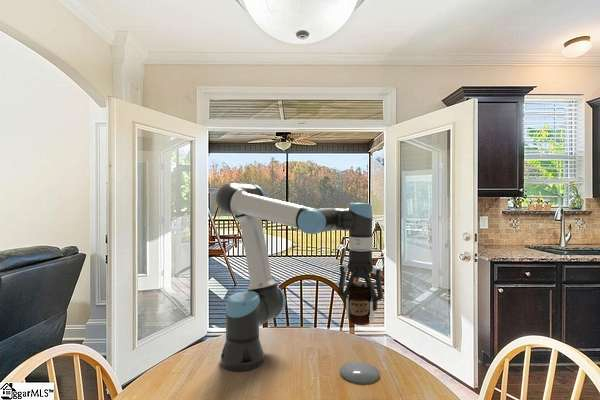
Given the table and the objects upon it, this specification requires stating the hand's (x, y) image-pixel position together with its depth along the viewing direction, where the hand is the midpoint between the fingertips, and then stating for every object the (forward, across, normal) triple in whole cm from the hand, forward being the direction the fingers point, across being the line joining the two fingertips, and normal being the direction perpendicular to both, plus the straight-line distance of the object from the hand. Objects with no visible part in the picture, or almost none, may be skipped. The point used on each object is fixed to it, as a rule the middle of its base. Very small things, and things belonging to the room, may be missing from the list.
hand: (359, 318), depth 116 cm
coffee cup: (+2, 0, 0) cm, 2 cm away
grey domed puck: (+18, 0, 0) cm, 18 cm away
